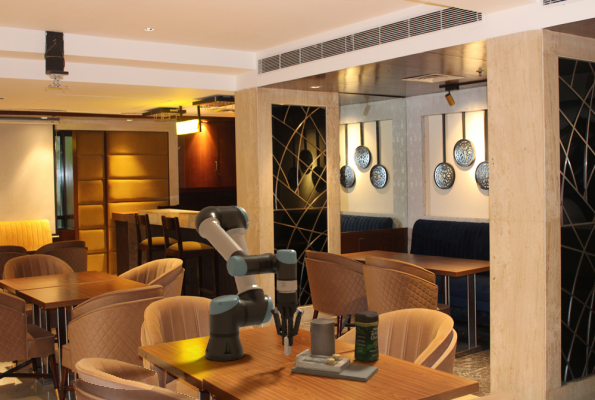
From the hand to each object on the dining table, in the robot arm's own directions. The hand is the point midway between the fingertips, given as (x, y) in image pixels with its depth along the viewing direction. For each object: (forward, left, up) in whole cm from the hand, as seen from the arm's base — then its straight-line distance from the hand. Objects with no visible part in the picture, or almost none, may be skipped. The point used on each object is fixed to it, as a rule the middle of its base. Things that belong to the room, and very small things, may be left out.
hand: (287, 354), depth 215 cm
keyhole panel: (+14, 0, -3) cm, 14 cm away
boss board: (+19, 0, -4) cm, 19 cm away
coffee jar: (+25, +19, -4) cm, 32 cm away
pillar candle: (+7, +18, -4) cm, 20 cm away
